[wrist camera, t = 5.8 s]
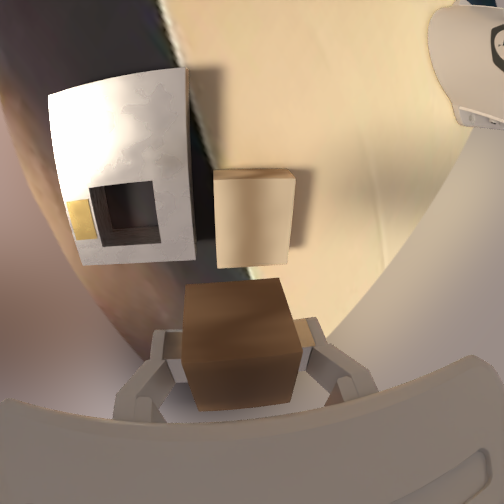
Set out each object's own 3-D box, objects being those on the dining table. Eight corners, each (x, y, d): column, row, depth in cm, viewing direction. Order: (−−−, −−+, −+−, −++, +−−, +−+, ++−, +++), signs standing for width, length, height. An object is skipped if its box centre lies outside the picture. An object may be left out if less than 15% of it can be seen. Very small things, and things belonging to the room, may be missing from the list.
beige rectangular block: (287, 168, 26) (295, 178, 23) (280, 248, 30) (287, 264, 28) (213, 170, 25) (213, 179, 22) (216, 251, 30) (217, 268, 27)
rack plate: (189, 70, 19) (185, 67, 16) (197, 240, 29) (195, 260, 26) (66, 93, 18) (47, 95, 15) (93, 247, 27) (82, 266, 24)
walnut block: (278, 277, 12) (303, 351, 9) (273, 336, 14) (289, 402, 11) (185, 284, 12) (181, 362, 8) (197, 343, 14) (199, 411, 10)
